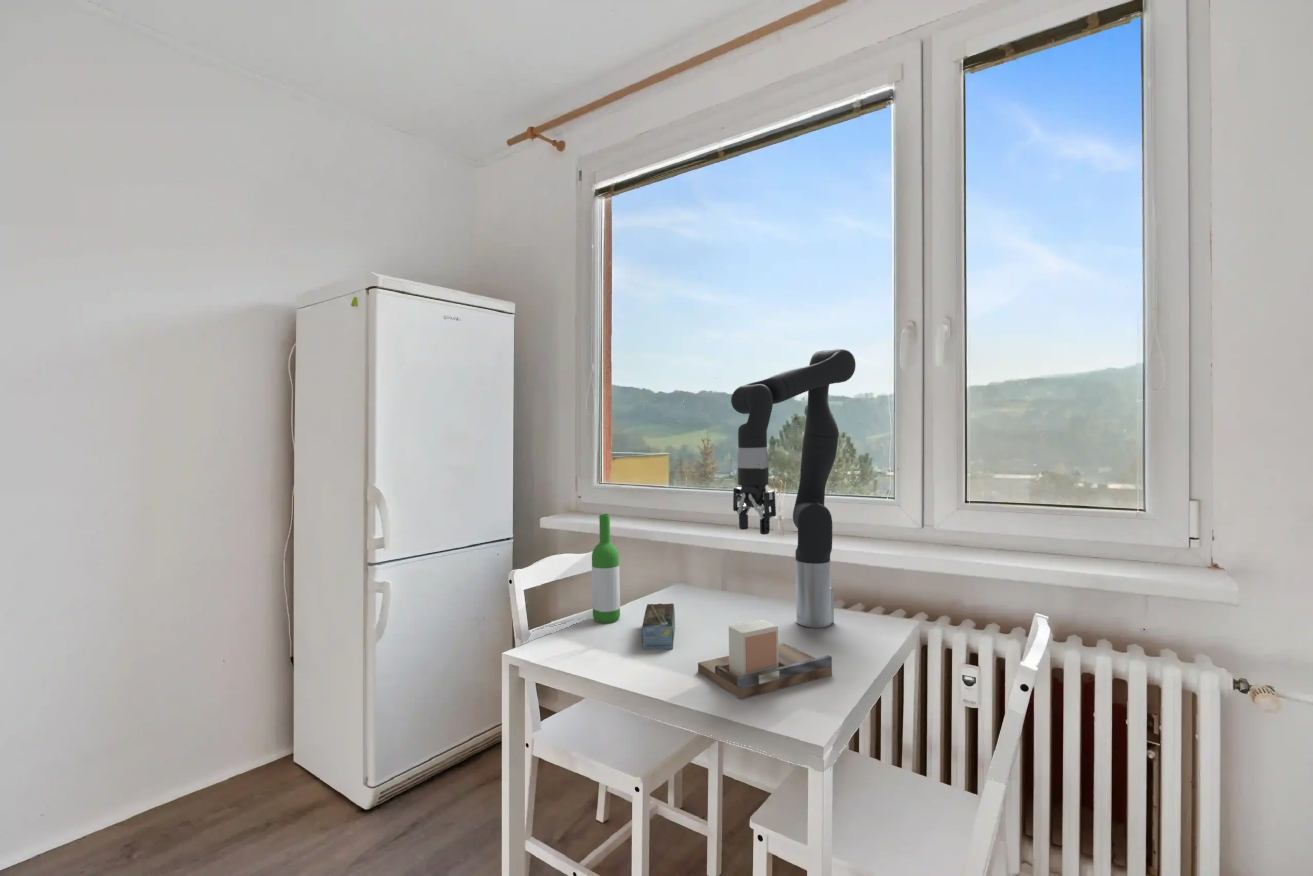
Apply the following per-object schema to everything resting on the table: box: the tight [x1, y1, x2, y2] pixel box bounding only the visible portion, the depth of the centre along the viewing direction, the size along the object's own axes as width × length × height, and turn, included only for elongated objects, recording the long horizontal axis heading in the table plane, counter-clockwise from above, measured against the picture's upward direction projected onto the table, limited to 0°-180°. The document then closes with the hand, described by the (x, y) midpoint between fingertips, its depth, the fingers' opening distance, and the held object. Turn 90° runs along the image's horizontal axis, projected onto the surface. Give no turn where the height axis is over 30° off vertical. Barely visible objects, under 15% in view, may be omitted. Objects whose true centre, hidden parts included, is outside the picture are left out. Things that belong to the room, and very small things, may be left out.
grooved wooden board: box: [697, 643, 833, 700], centre depth 132 cm, size 24×16×4 cm
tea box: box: [728, 619, 779, 677], centre depth 127 cm, size 5×9×10 cm, turn 118°
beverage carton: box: [641, 603, 676, 650], centre depth 158 cm, size 8×19×7 cm, turn 177°
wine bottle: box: [591, 513, 621, 624], centre depth 172 cm, size 8×8×30 cm
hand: (754, 531), depth 149 cm, fingers open, 8 cm apart
